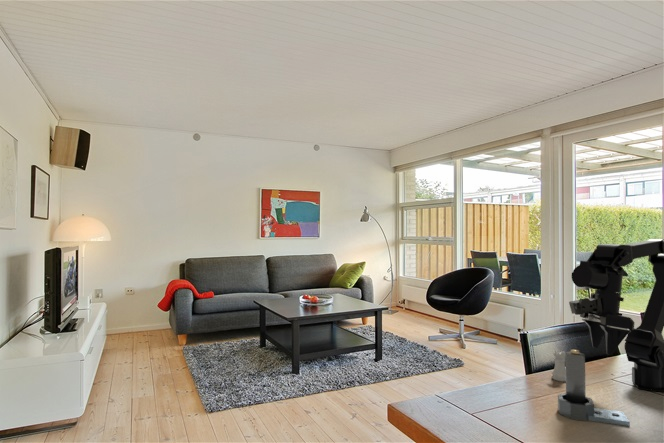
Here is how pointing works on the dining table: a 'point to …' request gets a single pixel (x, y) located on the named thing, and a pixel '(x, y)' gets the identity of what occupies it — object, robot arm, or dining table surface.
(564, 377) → the rook chess piece
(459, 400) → the dining table surface
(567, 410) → the hinge leaf
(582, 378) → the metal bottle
